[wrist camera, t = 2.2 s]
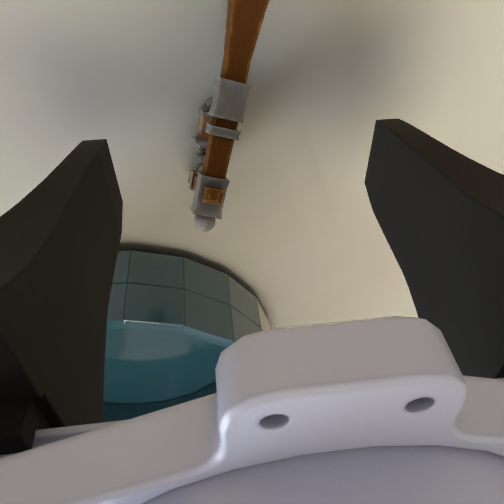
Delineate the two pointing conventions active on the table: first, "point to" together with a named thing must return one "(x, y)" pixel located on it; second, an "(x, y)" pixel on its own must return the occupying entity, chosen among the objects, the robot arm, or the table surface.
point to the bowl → (169, 331)
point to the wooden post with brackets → (224, 112)
